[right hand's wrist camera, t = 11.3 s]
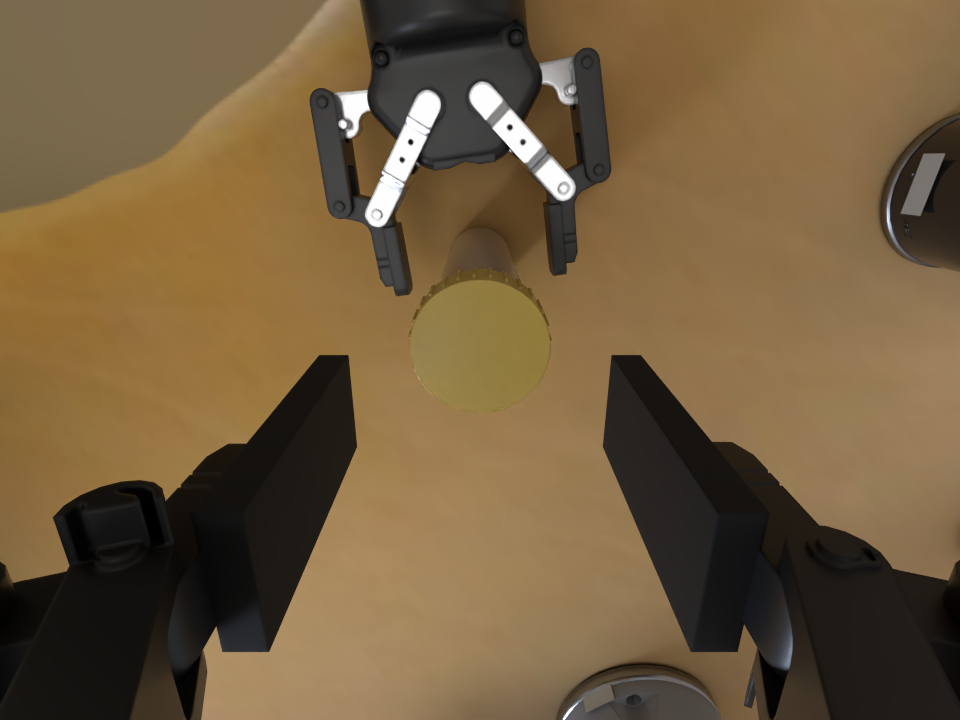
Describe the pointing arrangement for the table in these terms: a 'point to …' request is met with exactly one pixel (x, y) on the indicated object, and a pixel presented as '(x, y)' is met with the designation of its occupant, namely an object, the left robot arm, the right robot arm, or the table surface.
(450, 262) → the bottle
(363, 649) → the table surface
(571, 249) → the left robot arm
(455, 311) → the lid
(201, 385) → the table surface
